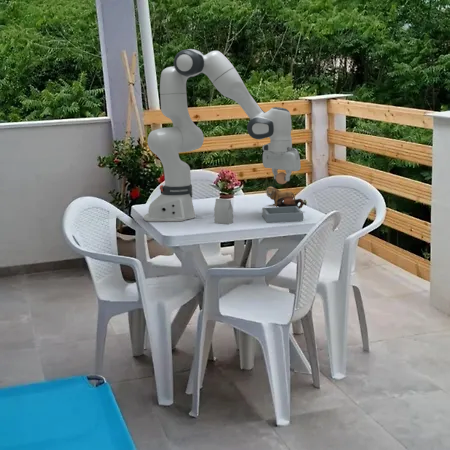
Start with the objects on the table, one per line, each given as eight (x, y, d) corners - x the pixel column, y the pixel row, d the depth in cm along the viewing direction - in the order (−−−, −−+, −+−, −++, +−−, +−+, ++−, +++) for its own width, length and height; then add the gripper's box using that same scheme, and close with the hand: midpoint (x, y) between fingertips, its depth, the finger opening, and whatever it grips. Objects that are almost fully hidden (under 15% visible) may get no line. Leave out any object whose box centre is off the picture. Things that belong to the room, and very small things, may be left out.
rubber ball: (275, 185, 323) (275, 173, 322) (276, 183, 328) (276, 171, 327) (287, 185, 322) (287, 173, 321) (288, 183, 327) (288, 171, 326)
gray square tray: (267, 222, 320) (266, 214, 320) (262, 215, 335) (262, 207, 334) (303, 221, 321) (303, 212, 321) (296, 214, 336) (296, 206, 335)
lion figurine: (267, 207, 355) (267, 187, 353) (265, 205, 360) (265, 185, 358) (299, 205, 356) (299, 186, 354) (296, 203, 361) (296, 184, 359)
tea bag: (228, 224, 320) (227, 200, 318) (214, 223, 324) (213, 199, 321) (233, 222, 323) (232, 198, 321) (219, 221, 327) (218, 197, 325)
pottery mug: (278, 216, 336) (273, 198, 338) (281, 221, 345) (276, 204, 347) (305, 208, 334) (300, 191, 336) (307, 214, 343) (302, 197, 345)
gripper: (303, 147, 316) (304, 181, 318) (271, 144, 332) (272, 177, 335) (292, 149, 312) (292, 183, 315) (259, 146, 328) (260, 178, 331)
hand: (281, 180), depth 325 cm, fingers closed on rubber ball, 5 cm apart
